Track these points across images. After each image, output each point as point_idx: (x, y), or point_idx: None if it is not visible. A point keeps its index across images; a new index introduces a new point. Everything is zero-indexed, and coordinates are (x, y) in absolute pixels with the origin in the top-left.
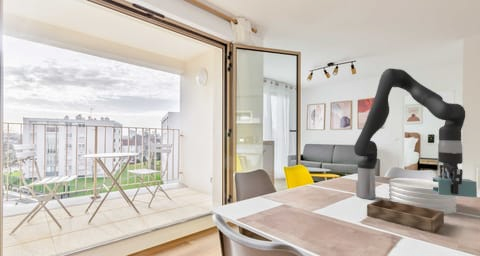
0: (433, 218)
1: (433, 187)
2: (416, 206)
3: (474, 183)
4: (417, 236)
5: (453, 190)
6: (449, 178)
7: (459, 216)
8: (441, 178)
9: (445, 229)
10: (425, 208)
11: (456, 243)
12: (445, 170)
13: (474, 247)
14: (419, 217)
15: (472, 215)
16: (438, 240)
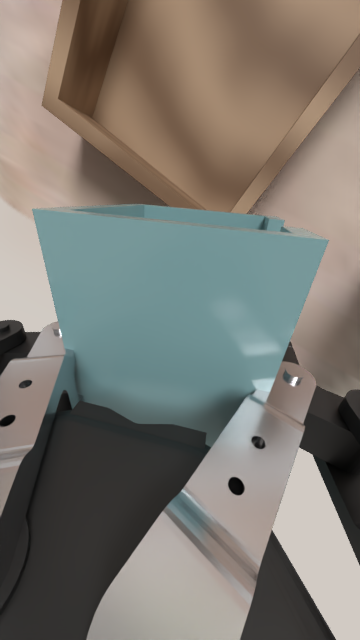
0: (69, 116)
1: (267, 219)
2: (311, 101)
3: None
4: (10, 10)
5: None
6: (44, 358)
7: (325, 348)
8: (194, 330)
9: (151, 204)
10: (268, 160)
11: (28, 171)
12: (2, 496)
13: (27, 214)
14: (61, 21)
15: (339, 395)
16: (18, 109)
